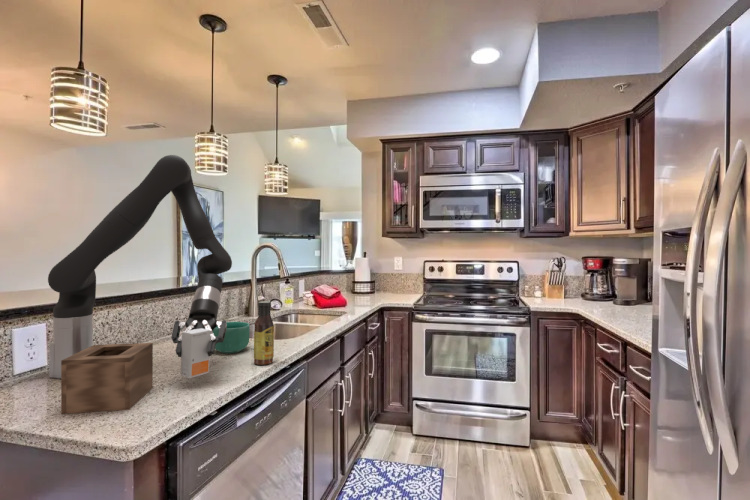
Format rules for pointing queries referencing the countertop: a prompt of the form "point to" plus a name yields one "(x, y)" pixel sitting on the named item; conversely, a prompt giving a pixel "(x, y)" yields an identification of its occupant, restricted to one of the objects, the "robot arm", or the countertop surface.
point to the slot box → (106, 377)
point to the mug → (233, 337)
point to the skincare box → (195, 352)
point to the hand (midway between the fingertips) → (194, 355)
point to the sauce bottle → (264, 335)
